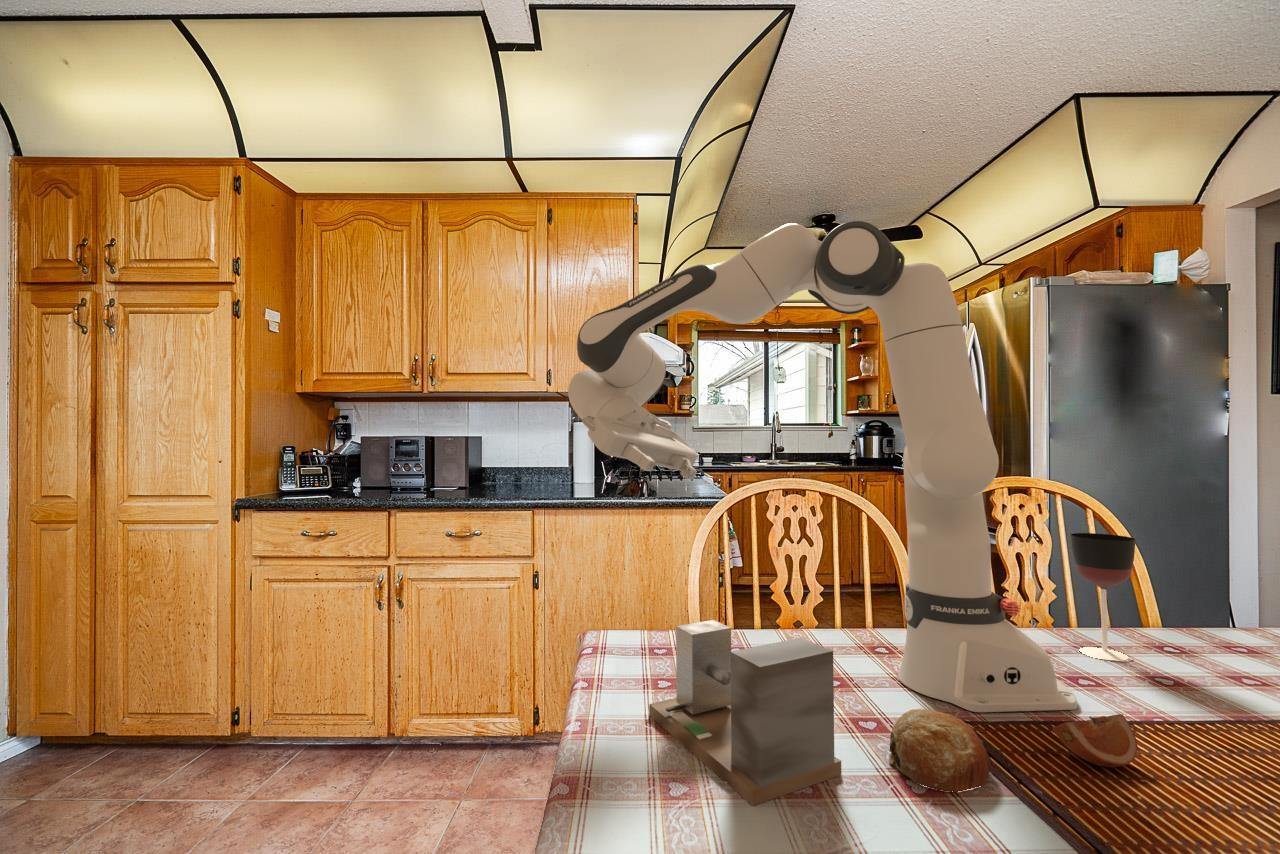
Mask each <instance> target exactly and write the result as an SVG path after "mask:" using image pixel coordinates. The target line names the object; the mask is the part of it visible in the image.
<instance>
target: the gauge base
mask: <svg viewBox="0 0 1280 854" xmlns="http://www.w3.org/2000/svg"><path fill="white" fill-rule="evenodd" d="M834 679H835V678H834V651H833V650H831V649H829V648H827V647H824V646H822V645H819V644H817V643H815V642H813V641H810V640H808V639H806V638H804V637H797V638H793V639H788V640H782V641H777V642H772V643H767V644H762V645H758V646H751V647H748V648H747V647H746V648H743V649H742V648H741V649H737V650H733V651H732V650H731V705H729V706H725V707H721V708H717V709H713V710H709V711H705V712H701V713H697V714H693V715H692V714H691V713H690V712H688V711H687V710H686V709H685V708H683V709H679V710H675V711H671V712H667V711H666V708H669V707H673V706H677V705H679V704H678V703H677V702H676V697H674V698H669V699H665V700H662V701H661V700H660V701H656V702H653V703H652V702H651V703H649V705H648V706H649V707H648V708H649V711H648V712H649V713H648V714H649V715H648V716H649V717H651V718H652V719H653V720H654V721H655V722H656V723H657V724H659V725H660V726H661V727H662V728H663V729H664V730H665V731H666V732H668V734H669V735H671V736H672V737H673V738H675V739H676V741H678V742H679V743H680V744H681V745H683V747H685V748H686V749H687V750H688V751H689V752H690V753H692V754H693V755H694V756H695V757H696V758H698V759H699V761H701V762H702V763H703V764H704V765H706V766H707V767H708V768H709V769H710V770H711V771H712V772H714V774H716V775H717V776H718V777H719V778H720V779H721V780H723V781H724V782H725V783H726V784H727V785H729V786H730V787H731V788H732V789H733V790H734V791H735V792H737V793H738V794H739V795H740V796H741V797H742V798H743V799H744V800H745V801H747V802H748V803H749V804H750V805H751V806H753V807H754V806H756V805H760V804H762V803H764V802H768V801H771V800H774V799H777V798H780V797H782V796H785V795H788V794H790V793H794V792H797V791H799V790H802V789H805V788H809V787H810V786H814V785H816V784H820V783H822V782H824V781H828V780H831V779H833V778H836V777H839V776H842V760H840V759H839V758H838V757H836V756H835V707H834V706H835V705H834V704H835V702H834V701H835V697H834V696H835V694H834V693H835V691H834V690H835V687H834V685H835V684H834Z"/></svg>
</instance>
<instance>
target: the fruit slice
mask: <svg viewBox="0 0 1280 854" xmlns="http://www.w3.org/2000/svg"><path fill="white" fill-rule="evenodd" d="M1088 718H1089V719H1087V720H1085V719H1082V720H1072V721H1065V722H1063V723H1060V724H1058V725H1056V726H1053V727H1052V731H1053V732H1054V734H1055V735H1056V736H1057V738H1058V739H1059V740H1060V742H1062V743H1063V745H1064V746H1065V747H1066V748H1067V749H1068V750H1069V751H1071V752H1072V753H1074V754H1075V755H1076V756H1077V757H1079V758H1080V759H1081V760H1082V759H1083V760H1085V761H1087V762H1088V761H1089V762H1088V763H1091V764H1093V763H1094V764H1093V765H1096V764H1097V765H1096V766H1100V767H1104V766H1105V767H1106V768H1118V767H1124V766H1127V765H1129V764H1130V763H1132V762H1133V761H1134V760H1135V759H1136V757H1137V754H1138V748H1139V747H1138V740H1137V738H1136V735H1135V732H1134V729H1132V726H1131V724H1130V723H1129V721H1128V720H1127V718H1126V717H1125V715H1124V714H1118V713H1117V714H1112V715H1109V716H1105V715H1102V716H1098V717H1095V716H1093V717H1092V716H1089V717H1088Z"/></svg>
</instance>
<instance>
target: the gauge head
mask: <svg viewBox="0 0 1280 854" xmlns="http://www.w3.org/2000/svg"><path fill="white" fill-rule="evenodd" d="M675 636H676V637H675V638H676V639H675V640H676V641H675V644H676V645H675V648H676V650H675V651H676V652H675V664H676V665H675V666H676V667H675V668H676V669H675V670H676V671H675V673H676V675H675V676H676V677H675V679H676V680H675V681H676V682H675V683H676V684H675V685H676V686H675V687H676V695H675V696H676V697H675V698H676V702H677V703H678V704H679V705H677V706H673V707H669V708H666V711H667V712H671V711H675V710H679V709H683V708H685V709H686V710H687V711H688V712H690V713H691V714H692V715H693V714H697V713H701V712H705V711H709V710H713V709H717V708H721V707H725V706H729V705H731V651H732V627H730V626H727V625H726V624H724V623H721V622H719V621H717V620H715V619H711V620H705V621H698V622H692V623H686V624H681V625H676V626H675Z"/></svg>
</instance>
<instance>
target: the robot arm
mask: <svg viewBox="0 0 1280 854" xmlns="http://www.w3.org/2000/svg"><path fill="white" fill-rule="evenodd" d="M805 290H807V292H808V293H809V294H810V295H811V296H812V297H813V298H816V299H817V300H818V301H820V302H821V304H823V305H824V306H826V307H827V308H829V309H830V310H832V311H834V312H836V313H839V314H842V315H855V314H859V313H862V312H864V311H867V310H869V309H871V310H873V311H874V313H875V314H876V316H877V318H878V320H879V324H880V327H881V332H882V337H883V343H884V344H883V345H884V349H885V355H886V359H887V360H886V361H887V366H888V371H889V376H890V377H889V378H890V381H891V386H892V391H893V396H894V399H895V403H896V408H897V411H898V414H899V415H898V416H899V418H900V422H901V423H900V424H901V427H902V430H903V436H904V439H905V447H904V449H903V457H902V461H903V484H904V485H903V487H904V502H905V517H906V518H905V519H906V528H907V529H906V530H907V567H908V568H907V570H908V571H907V573H908V576H907V577H908V583H907V584H905V593H904V594H905V595H904V616H905V622H906V623H907V624H906V625H907V626H906V628H907V629H906V638H905V645H904V650H903V656H902V661H901V664H900V668H899V670H898V675H897V678H898V679H899V681H900V682H901V683H902V684H903V685H904V686H906V687H907V688H909V689H911V690H913V691H914V692H917V693H919V694H922V695H924V696H927V697H930V698H933V699H937V700H940V701H943V702H947V703H950V704H953V705H954V706H955V705H956V706H958V707H960V708H962V709H965V710H967V711H969V712H974V713H994V712H996V713H999V712H1033V711H1063V710H1064V711H1067V710H1068V711H1069V710H1077V708H1078V702H1077V701H1078V700H1077V697H1076V695H1075V693H1073V691H1072V690H1071V689H1069V687H1068V686H1066V685H1065V684H1064V683H1062V682H1061V681H1059V680H1058V679H1057V677H1056V672H1055V668H1054V665H1053V662H1052V659H1051V657H1050V656H1049V655H1050V654H1048V653H1047V651H1046V650H1045V649H1044V648H1043V647H1042V646H1041V645H1040V644H1039V643H1037V642H1036V641H1034V640H1033V639H1032V638H1031V637H1030V636H1028V635H1027V634H1026V633H1025V632H1024V631H1022V630H1021V629H1020V628H1018V627H1016V625H1014V624H1012V623H1011V622H1010V621H1008V619H1006V614H1008V615H1009V616H1010V617H1011V616H1012V617H1015V616H1018V615H1019V614H1020V613H1021V605H1020V604H1019V603H1018V602H1016V601H1014V600H1013V599H1011V598H1003V597H1002V596H1000V595H998V594H997V593H996V592H993V591H992V572H991V571H992V562H991V561H992V560H991V559H992V558H991V556H992V555H991V537H990V533H989V528H988V523H987V515H986V510H985V503H984V495H983V492H984V491H985V490H986V489H987V488H989V487H990V485H992V483H993V481H994V480H995V478H996V476H997V474H998V471H999V464H1000V459H999V454H998V451H997V448H996V445H995V443H994V440H993V435H992V432H991V428H990V425H989V422H988V417H987V415H986V411H985V410H984V406H983V403H982V400H981V398H980V394H979V392H978V390H977V387H976V383H975V380H974V376H973V372H972V366H971V362H970V361H971V360H970V356H969V352H968V347H967V342H966V341H967V340H966V338H965V333H964V327H963V323H962V319H961V313H960V310H959V308H958V303H957V300H956V297H955V295H954V291H953V290H952V286H951V284H950V282H949V280H948V278H947V275H946V274H945V272H944V271H943V269H941V268H940V267H939V266H937V265H935V264H932V263H927V262H916V263H909V264H905V255H904V254H903V253H902V252H901V250H899V249H898V248H897V246H896V245H894V243H892V242H891V241H890V239H889V238H888V237H887V236H886V234H885V233H884V232H882V230H880V229H879V228H878V227H877V226H875V225H874V224H872V223H869V222H866V221H862V220H861V221H860V220H854V221H853V220H852V221H848V222H845V223H842V224H840V225H838V226H836V227H834V228H833V229H832V230H831V231H830V232H829V233H827V234H826V235H825V237H824V238H823V240H822V241H821V240H820V239H818V238H817V236H815V235H814V233H813V232H812V231H811V229H810V230H809V228H807V227H806V226H803V225H802V224H799V223H795V222H794V223H792V222H791V223H785V224H784V225H781V226H780V227H778V228H775V229H773V230H772V231H770V232H768V233H766V234H764V235H763V236H760V237H759V238H758V239H756V240H755V241H753V242H752V243H750V244H748V245H746V247H744V248H743V249H742V250H740V251H739V252H737V253H736V254H735V255H733V256H731V257H730V258H727V259H726V260H723V261H721V262H718V263H716V264H711V265H706V264H696V265H692V266H690V267H688V268H685V269H683V270H681V271H678V273H677V272H676V273H675V274H674V275H671V276H670V277H667V278H666V279H664V280H662V281H661V282H658V283H657V284H655V285H653V286H652V287H650V288H648V289H647V290H645V291H643V292H641V293H639V294H637V295H636V296H634V297H632V298H630V299H629V300H626V301H625V302H623V303H621V304H620V305H617V306H614V307H612V308H610V309H607V310H603V311H601V312H599V313H596V314H595V315H593V316H591V317H590V318H588V319H587V320H586V321H585V322H584V323H583V324H582V325H581V327H580V328H579V331H578V333H577V340H576V341H577V342H576V351H577V352H576V353H577V356H578V359H579V360H580V362H581V363H582V364H583V365H585V366H587V367H588V368H589V369H582V370H580V371H578V372H577V373H575V375H573V377H572V378H571V379H570V382H569V385H568V390H567V391H568V393H567V394H568V395H567V396H568V400H569V403H570V405H571V407H572V409H573V410H574V412H575V413H576V414H577V416H578V417H579V418H580V419H581V420H582V421H581V422H582V423H583V425H584V426H585V427H586V428H587V429H588V430H587V435H588V437H589V439H590V440H591V442H592V443H593V444H594V445H595V447H596V448H597V449H598V450H599V452H601V453H603V454H605V455H607V456H609V457H616V458H619V459H625V460H628V461H630V462H632V463H634V464H636V465H637V466H638V467H639V468H640V469H642V470H643V471H647V472H652V471H653V470H654V467H655V466H658V467H663V468H667V469H671V470H676V471H680V472H679V475H681V476H682V477H683V478H684V479H687V480H690V481H691V480H694V479H695V477H696V475H697V470H696V469H695V468H694V465H695V464H696V461H697V459H698V454H697V452H696V450H695V449H694V448H693V447H692V446H691V445H690V444H689V443H688V442H687V441H686V440H685V439H684V438H683V437H682V436H681V435H680V434H678V432H676V431H675V430H673V429H672V428H673V425H672V424H671V423H670V422H669V421H667V420H665V419H663V418H662V417H659V416H657V415H655V414H652V413H650V411H648V410H647V409H646V408H645V407H644V406H645V404H646V403H648V402H649V401H650V400H652V399H653V398H654V396H655V395H657V393H658V392H659V391H660V389H661V388H662V386H663V385H664V382H665V379H666V376H667V375H666V374H667V366H666V362H665V361H664V359H663V358H662V357H661V356H660V355H659V354H658V353H657V351H656V350H655V349H654V348H653V347H652V346H651V345H650V344H648V343H647V342H646V341H645V339H644V338H642V336H641V335H640V334H641V333H644V332H645V331H647V330H649V329H650V328H653V327H654V326H656V325H658V324H659V323H661V322H663V321H665V320H666V319H669V318H670V317H672V316H674V315H676V314H678V313H681V312H685V311H696V312H701V313H703V314H706V315H707V314H708V315H709V316H712V317H714V318H716V319H718V320H720V321H722V322H724V323H728V324H734V325H747V324H750V323H752V322H755V321H757V320H758V319H760V318H762V317H763V316H765V315H766V314H768V313H770V312H771V311H773V309H775V308H776V307H778V306H779V305H780V304H782V303H783V302H785V301H786V300H787V299H789V298H790V297H792V296H793V295H795V294H797V293H799V292H801V291H805Z"/></svg>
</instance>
